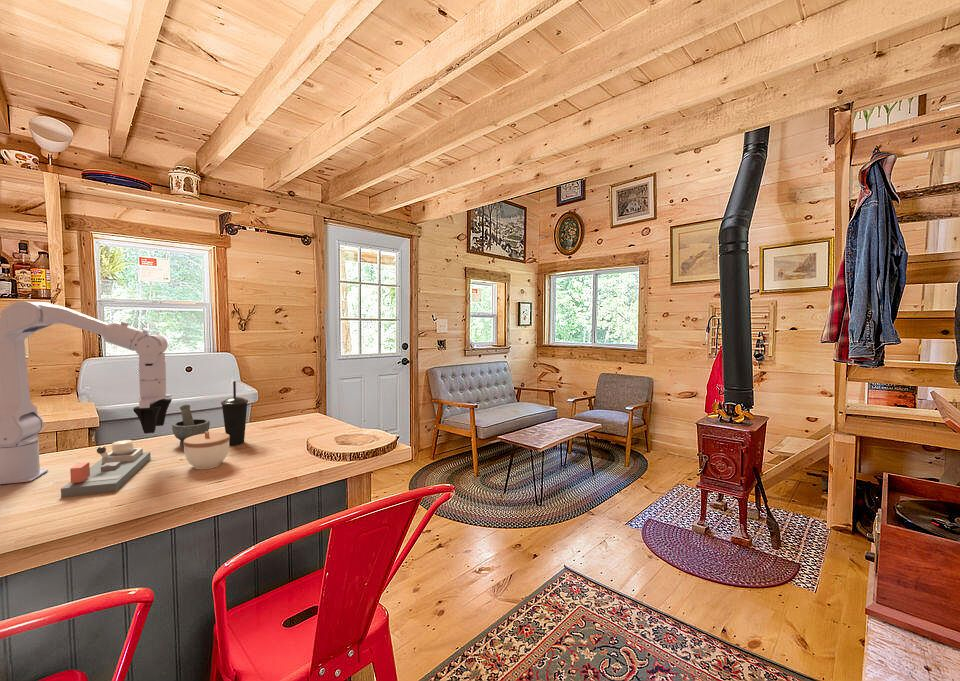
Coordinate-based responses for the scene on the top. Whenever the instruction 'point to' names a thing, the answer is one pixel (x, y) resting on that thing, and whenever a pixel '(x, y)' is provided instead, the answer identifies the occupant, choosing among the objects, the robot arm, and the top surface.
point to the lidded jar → (206, 449)
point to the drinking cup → (235, 417)
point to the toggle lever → (103, 453)
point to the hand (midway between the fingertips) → (154, 429)
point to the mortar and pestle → (189, 425)
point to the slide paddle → (80, 472)
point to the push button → (122, 447)
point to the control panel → (108, 474)
